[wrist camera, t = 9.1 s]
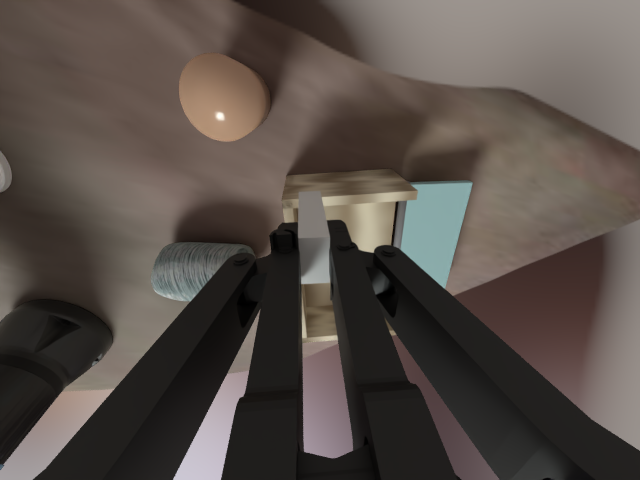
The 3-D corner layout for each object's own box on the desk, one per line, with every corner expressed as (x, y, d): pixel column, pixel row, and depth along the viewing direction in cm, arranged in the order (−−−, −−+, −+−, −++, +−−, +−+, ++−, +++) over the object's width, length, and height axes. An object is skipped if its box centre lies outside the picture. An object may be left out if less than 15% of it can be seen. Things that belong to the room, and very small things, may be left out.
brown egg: (220, 131, 30) (192, 143, 22) (206, 66, 27) (167, 54, 19) (274, 128, 30) (264, 139, 23) (266, 63, 27) (251, 50, 19)
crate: (300, 299, 44) (300, 342, 36) (286, 175, 33) (281, 199, 25) (379, 293, 45) (395, 334, 37) (391, 168, 34) (418, 190, 26)
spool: (263, 235, 34) (230, 305, 28) (269, 267, 42) (244, 326, 36) (168, 210, 35) (119, 273, 29) (192, 246, 43) (157, 301, 37)
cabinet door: (387, 303, 41) (441, 302, 41) (401, 183, 31) (473, 181, 31) (386, 297, 42) (438, 297, 42) (399, 180, 32) (468, 178, 32)
